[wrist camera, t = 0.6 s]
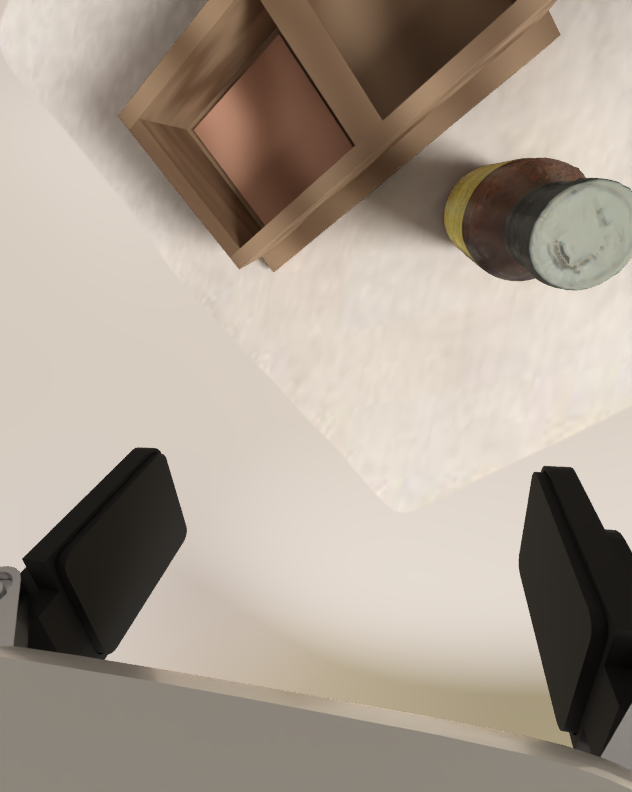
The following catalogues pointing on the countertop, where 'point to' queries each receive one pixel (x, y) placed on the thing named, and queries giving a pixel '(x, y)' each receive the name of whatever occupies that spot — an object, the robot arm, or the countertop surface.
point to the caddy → (317, 104)
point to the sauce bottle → (541, 223)
